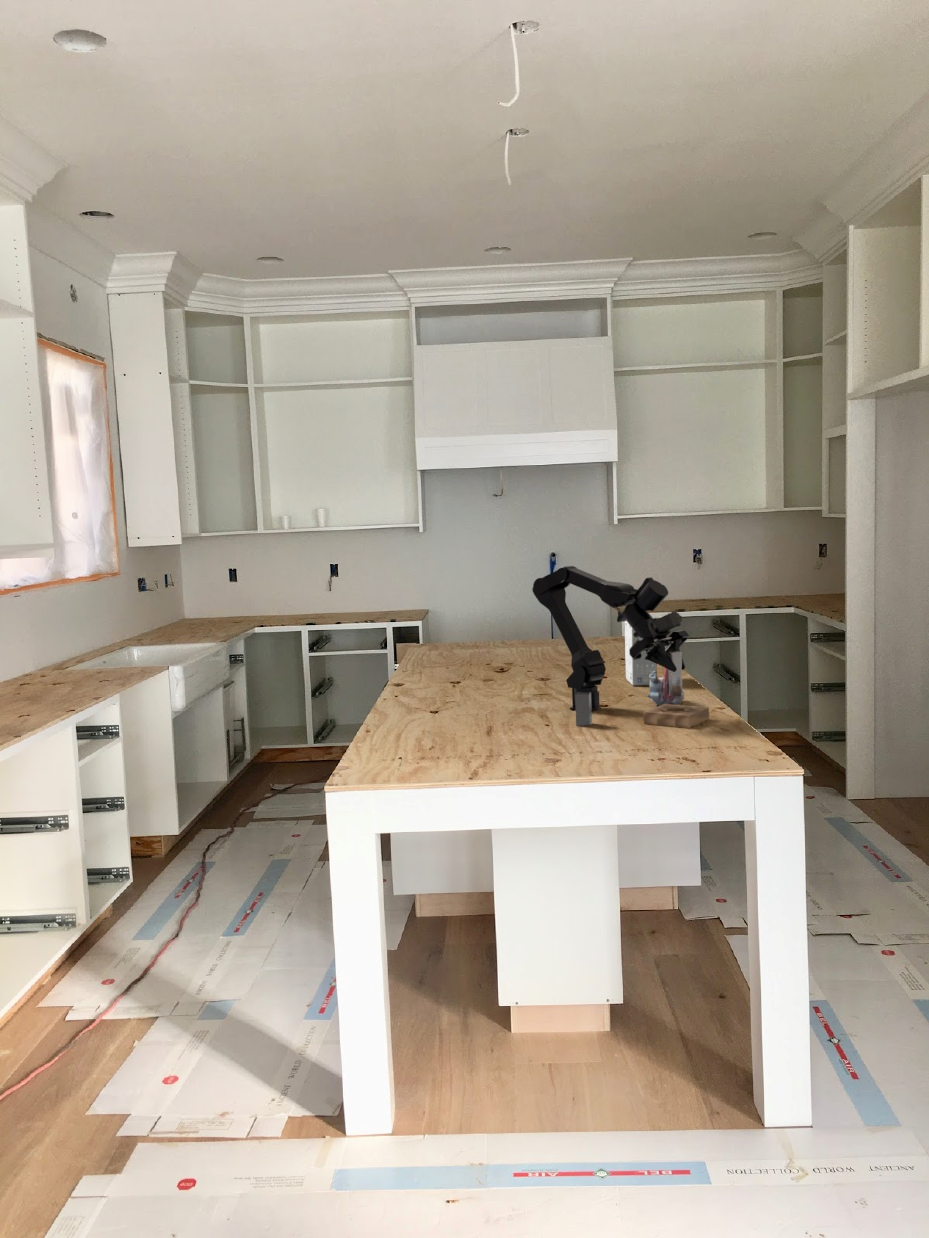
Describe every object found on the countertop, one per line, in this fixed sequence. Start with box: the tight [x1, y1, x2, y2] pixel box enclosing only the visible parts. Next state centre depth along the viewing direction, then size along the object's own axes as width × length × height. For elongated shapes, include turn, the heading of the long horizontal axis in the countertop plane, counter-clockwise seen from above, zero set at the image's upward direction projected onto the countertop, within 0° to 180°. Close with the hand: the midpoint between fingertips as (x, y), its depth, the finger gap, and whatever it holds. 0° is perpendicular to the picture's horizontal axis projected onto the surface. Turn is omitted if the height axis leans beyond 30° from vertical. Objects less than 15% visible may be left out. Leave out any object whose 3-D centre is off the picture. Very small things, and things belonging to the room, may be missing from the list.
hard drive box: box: [624, 621, 658, 687], centre depth 308 cm, size 16×8×20 cm, turn 179°
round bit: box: [668, 651, 683, 697], centre depth 247 cm, size 3×3×11 cm
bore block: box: [643, 704, 710, 729], centre depth 248 cm, size 12×12×3 cm
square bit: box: [575, 692, 593, 727], centre depth 249 cm, size 3×3×8 cm
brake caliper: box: [646, 667, 685, 706], centre depth 272 cm, size 11×11×12 cm
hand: (679, 669), depth 246 cm, fingers closed on round bit, 3 cm apart
